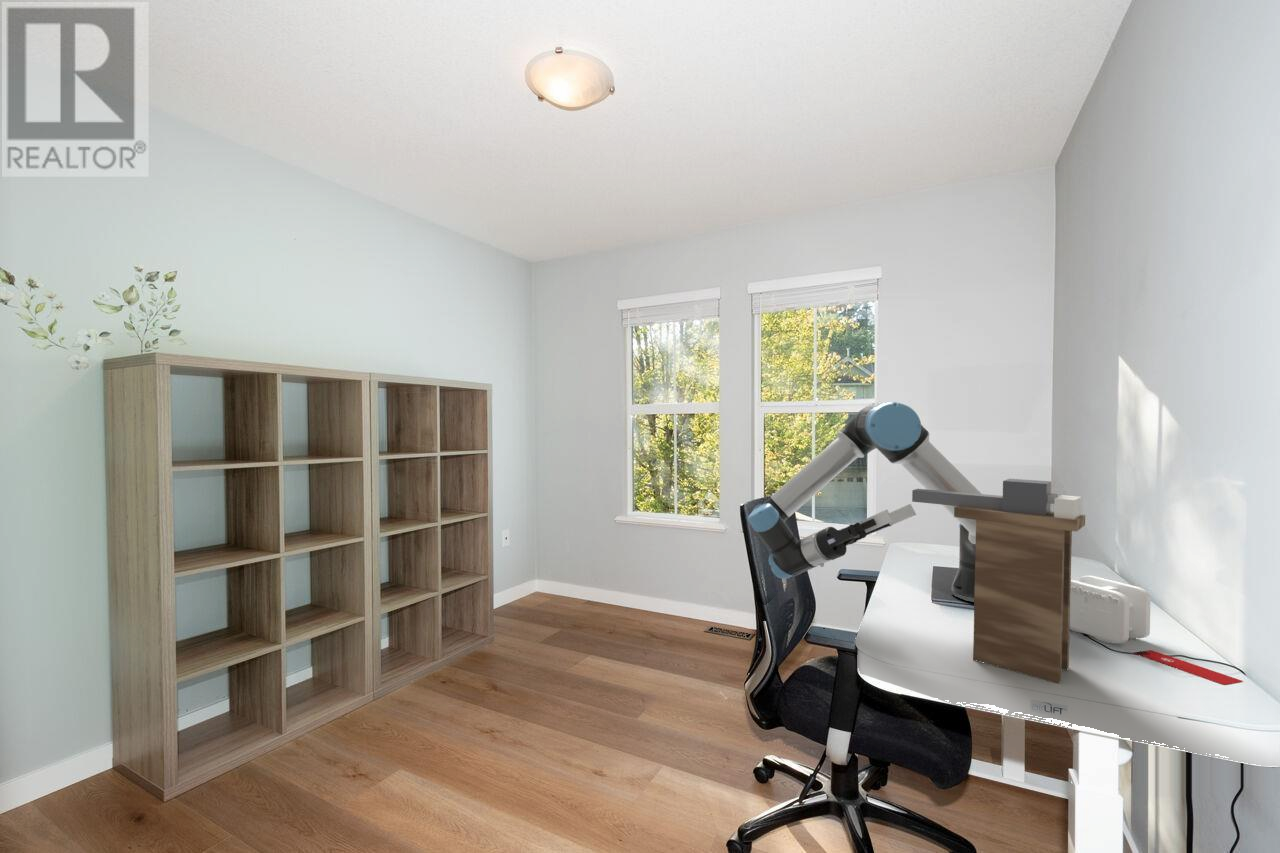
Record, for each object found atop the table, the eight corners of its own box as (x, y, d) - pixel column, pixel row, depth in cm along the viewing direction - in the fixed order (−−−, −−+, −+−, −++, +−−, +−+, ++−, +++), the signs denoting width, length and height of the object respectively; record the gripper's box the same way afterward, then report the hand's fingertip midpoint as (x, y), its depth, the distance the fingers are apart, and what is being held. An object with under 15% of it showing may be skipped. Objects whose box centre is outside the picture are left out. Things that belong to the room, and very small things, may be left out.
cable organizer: (1155, 644, 124) (1156, 591, 123) (1121, 649, 120) (1122, 594, 120) (1082, 621, 138) (1083, 573, 138) (1050, 625, 135) (1051, 576, 134)
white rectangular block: (1060, 512, 111) (1061, 494, 111) (1081, 514, 109) (1081, 496, 109) (1053, 517, 105) (1053, 498, 105) (1074, 519, 103) (1074, 500, 103)
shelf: (965, 641, 123) (968, 502, 123) (1081, 670, 109) (1085, 514, 109) (951, 653, 116) (954, 507, 116) (1073, 687, 102) (1076, 520, 102)
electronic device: (1244, 683, 106) (1151, 652, 120) (1244, 680, 106) (1151, 649, 120) (1223, 687, 104) (1132, 654, 118) (1223, 684, 104) (1132, 652, 118)
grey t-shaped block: (919, 499, 128) (920, 472, 128) (1058, 512, 111) (1058, 481, 111) (910, 502, 123) (910, 474, 123) (1053, 516, 106) (1054, 484, 106)
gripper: (853, 552, 148) (929, 521, 135) (805, 569, 131) (887, 535, 118) (840, 526, 151) (913, 492, 138) (791, 538, 133) (870, 501, 120)
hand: (901, 512), depth 128 cm, fingers open, 13 cm apart
